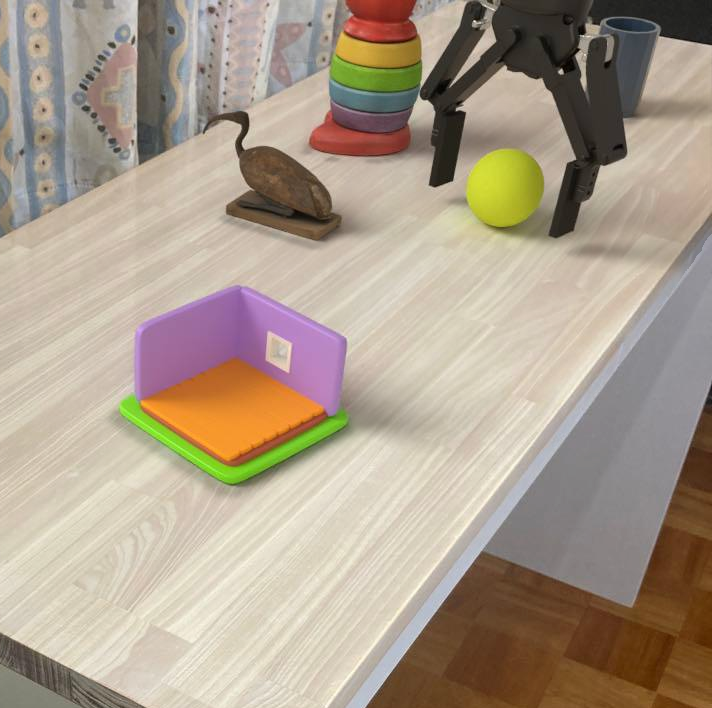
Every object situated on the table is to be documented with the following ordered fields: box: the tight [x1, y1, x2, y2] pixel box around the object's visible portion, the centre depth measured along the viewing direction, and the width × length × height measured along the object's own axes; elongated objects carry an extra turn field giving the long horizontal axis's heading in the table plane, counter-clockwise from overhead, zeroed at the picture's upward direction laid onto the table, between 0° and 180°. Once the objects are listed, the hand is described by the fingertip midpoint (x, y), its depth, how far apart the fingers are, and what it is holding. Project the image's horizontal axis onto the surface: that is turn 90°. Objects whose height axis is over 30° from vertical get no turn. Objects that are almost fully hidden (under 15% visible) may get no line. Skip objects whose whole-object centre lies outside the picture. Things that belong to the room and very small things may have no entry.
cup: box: [583, 16, 662, 118], centre depth 127 cm, size 6×6×9 cm
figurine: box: [202, 110, 343, 241], centre depth 103 cm, size 14×4×9 cm, turn 56°
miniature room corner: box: [119, 284, 349, 485], centre depth 77 cm, size 12×12×7 cm
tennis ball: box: [465, 147, 545, 228], centre depth 103 cm, size 7×7×7 cm
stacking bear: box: [308, 0, 423, 156], centre depth 115 cm, size 11×10×18 cm
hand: (498, 207), depth 104 cm, fingers open, 13 cm apart
